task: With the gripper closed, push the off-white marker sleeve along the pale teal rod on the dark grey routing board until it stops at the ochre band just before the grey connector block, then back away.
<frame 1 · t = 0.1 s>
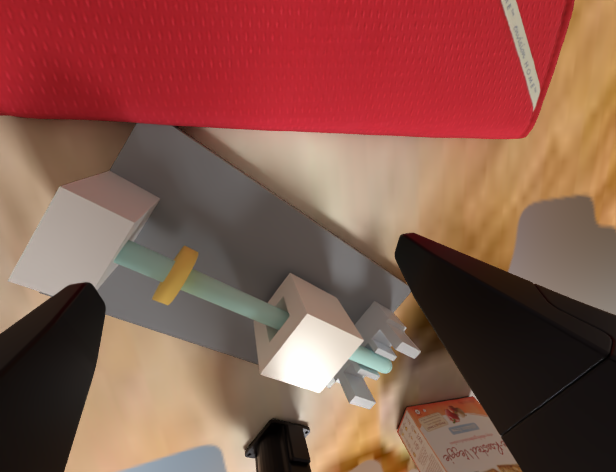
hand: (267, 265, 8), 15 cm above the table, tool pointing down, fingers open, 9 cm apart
dish drying mat: (318, 19, 19), on the table, touching routing board
cracker box: (434, 410, 43), on the table
sleeve: (304, 330, 23), point 5 cm above the table, slide at 0.0 cm
pale teal rod: (272, 288, 26), resting on routing board
routing board: (264, 284, 26), on the table
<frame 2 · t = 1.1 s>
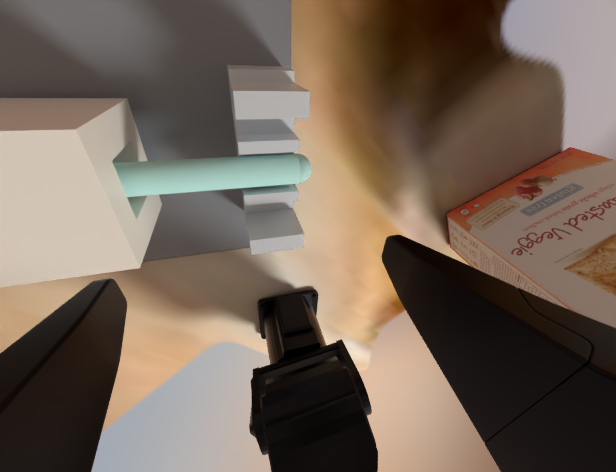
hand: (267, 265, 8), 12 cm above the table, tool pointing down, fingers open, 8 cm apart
cracker box: (501, 198, 28), on the table
sleeve: (57, 184, 12), point 5 cm above the table, slide at 0.0 cm
pale teal rod: (47, 150, 15), resting on routing board
routing board: (26, 151, 15), on the table
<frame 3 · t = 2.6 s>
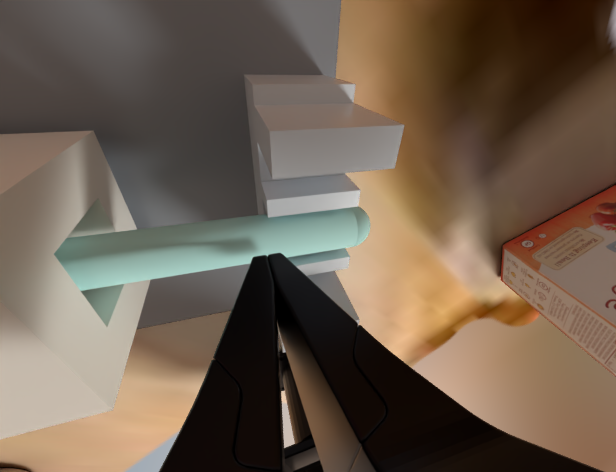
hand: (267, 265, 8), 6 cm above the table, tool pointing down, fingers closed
cracker box: (566, 223, 23), on the table
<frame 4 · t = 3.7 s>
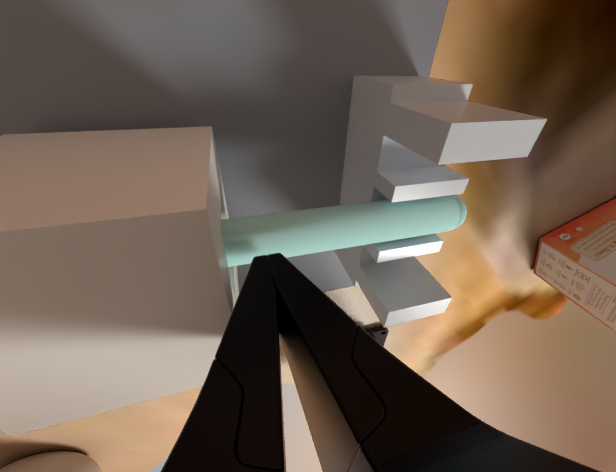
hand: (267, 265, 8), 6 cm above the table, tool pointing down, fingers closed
cracker box: (598, 217, 25), on the table
sleeve: (127, 257, 8), point 5 cm above the table, slide at 0.6 cm, touching gripper
pale teal rod: (110, 191, 11), resting on routing board
routing board: (83, 194, 11), on the table
pump dispenser: (51, 460, 23), on the table
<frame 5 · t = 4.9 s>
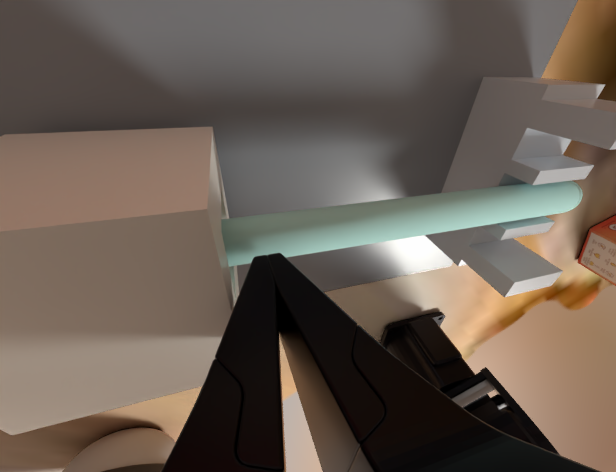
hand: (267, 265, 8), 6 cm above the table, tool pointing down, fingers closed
sleeve: (127, 256, 8), point 5 cm above the table, slide at 7.1 cm, touching gripper
pale teal rod: (257, 178, 13), resting on routing board
routing board: (236, 180, 13), on the table
pump dispenser: (132, 437, 25), on the table
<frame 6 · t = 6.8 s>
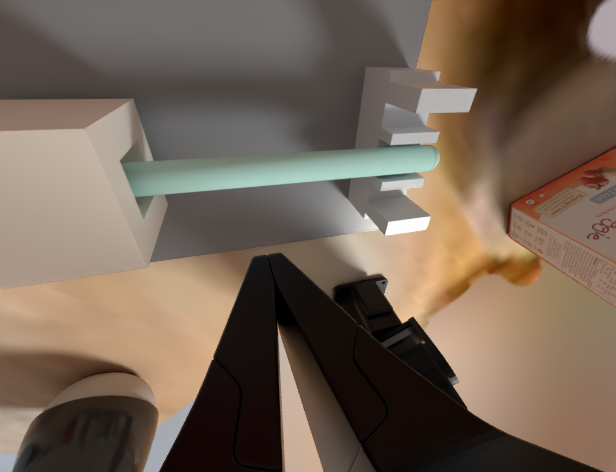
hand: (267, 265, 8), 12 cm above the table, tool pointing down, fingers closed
cracker box: (560, 189, 30), on the table
sleeve: (65, 184, 12), point 5 cm above the table, slide at 7.8 cm
pale teal rod: (198, 145, 17), resting on routing board
routing board: (182, 146, 16), on the table
pump dispenser: (112, 383, 28), on the table
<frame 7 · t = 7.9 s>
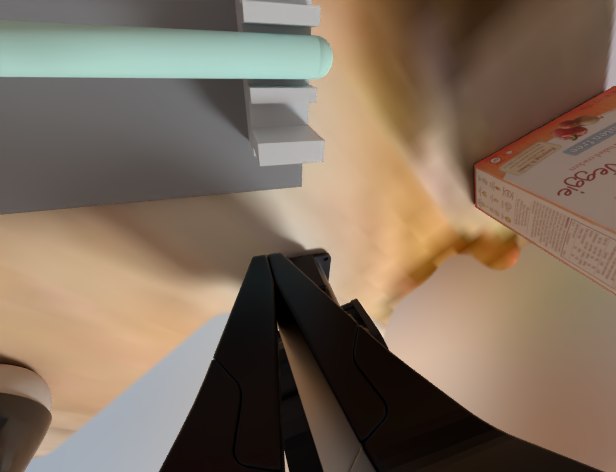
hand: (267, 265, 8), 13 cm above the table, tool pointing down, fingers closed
cracker box: (534, 149, 25), on the table
pale teal rod: (11, 46, 12), resting on routing board
pump dispenser: (0, 377, 24), on the table
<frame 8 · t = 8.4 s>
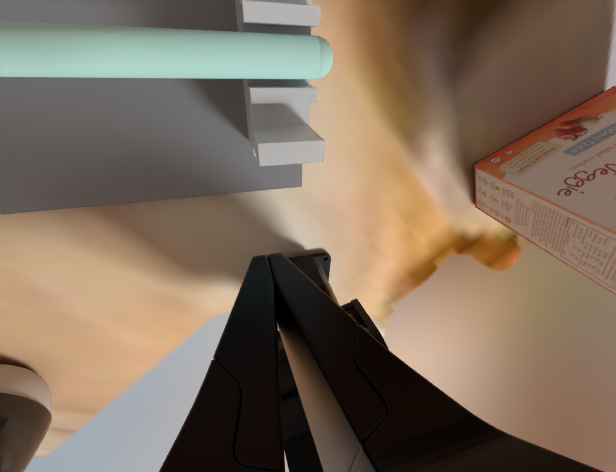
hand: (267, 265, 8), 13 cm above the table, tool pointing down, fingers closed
cracker box: (534, 149, 25), on the table
pale teal rod: (11, 46, 12), resting on routing board
pump dispenser: (0, 377, 24), on the table
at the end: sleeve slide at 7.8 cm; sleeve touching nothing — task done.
